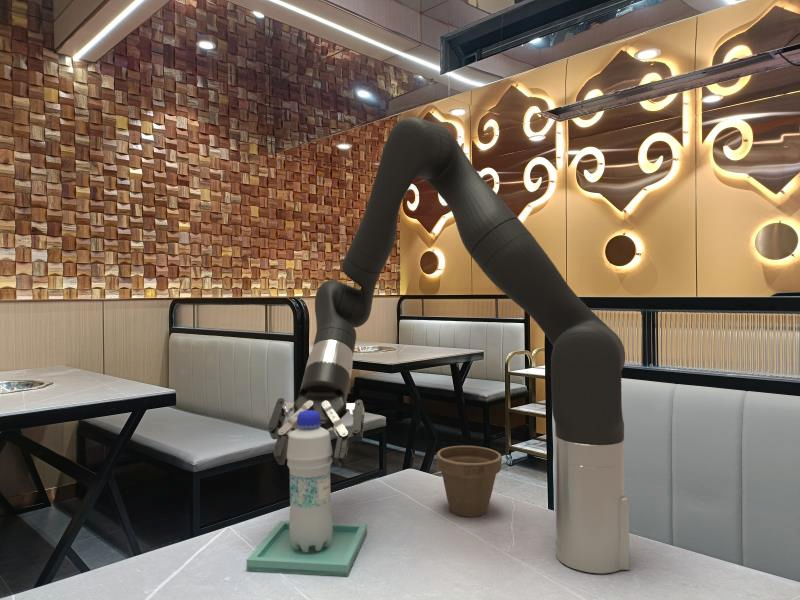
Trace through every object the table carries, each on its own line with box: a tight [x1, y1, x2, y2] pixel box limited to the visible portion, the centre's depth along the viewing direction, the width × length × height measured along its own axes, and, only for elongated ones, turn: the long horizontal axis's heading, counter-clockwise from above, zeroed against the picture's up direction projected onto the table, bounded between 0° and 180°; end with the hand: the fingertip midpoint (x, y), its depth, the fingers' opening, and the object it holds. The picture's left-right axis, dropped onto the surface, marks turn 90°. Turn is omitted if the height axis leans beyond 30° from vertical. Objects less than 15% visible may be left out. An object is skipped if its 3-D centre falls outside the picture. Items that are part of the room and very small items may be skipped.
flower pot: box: [436, 445, 503, 518], centre depth 99 cm, size 12×11×10 cm
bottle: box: [286, 410, 333, 552], centre depth 83 cm, size 7×7×20 cm
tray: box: [246, 520, 368, 577], centre depth 83 cm, size 14×14×2 cm
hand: (308, 463), depth 82 cm, fingers open, 8 cm apart
